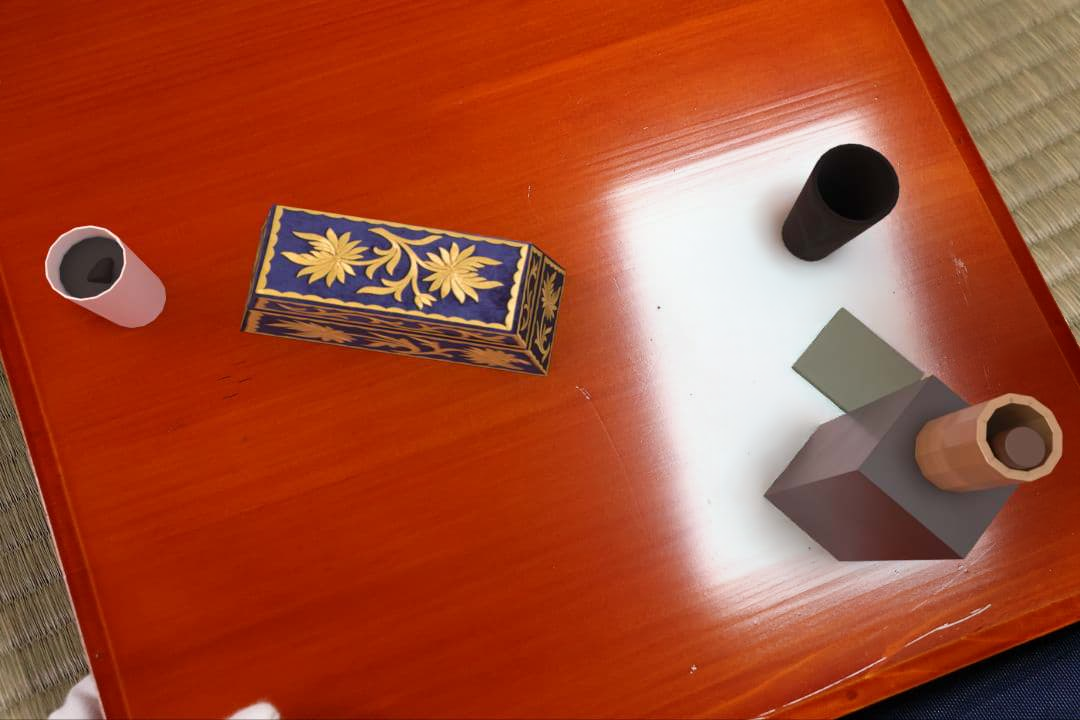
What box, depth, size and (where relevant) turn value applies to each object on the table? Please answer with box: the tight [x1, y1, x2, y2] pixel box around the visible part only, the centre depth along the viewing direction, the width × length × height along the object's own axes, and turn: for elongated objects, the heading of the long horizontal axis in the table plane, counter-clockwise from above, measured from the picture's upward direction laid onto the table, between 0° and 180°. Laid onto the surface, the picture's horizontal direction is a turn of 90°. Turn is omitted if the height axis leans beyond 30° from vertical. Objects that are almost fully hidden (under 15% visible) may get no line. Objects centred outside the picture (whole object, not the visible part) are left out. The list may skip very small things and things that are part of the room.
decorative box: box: [239, 203, 567, 378], centre depth 79 cm, size 11×30×9 cm, turn 82°
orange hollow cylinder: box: [915, 392, 1063, 493], centre depth 55 cm, size 5×5×8 cm
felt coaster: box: [791, 306, 926, 414], centre depth 83 cm, size 10×8×1 cm
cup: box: [780, 142, 901, 262], centre depth 81 cm, size 8×8×12 cm
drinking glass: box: [44, 225, 167, 329], centre depth 77 cm, size 7×7×10 cm
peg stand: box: [763, 374, 1045, 563], centre depth 65 cm, size 9×9×31 cm
